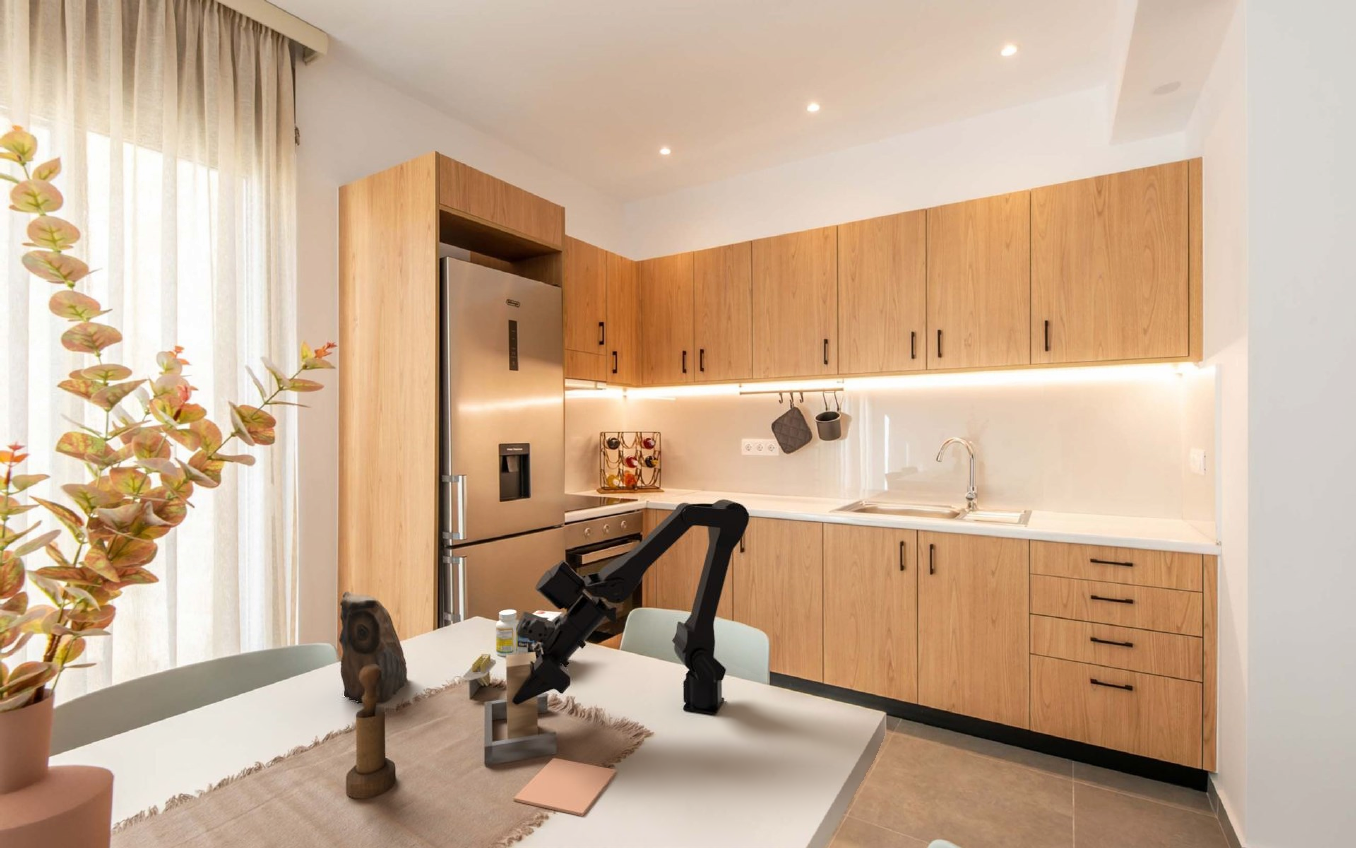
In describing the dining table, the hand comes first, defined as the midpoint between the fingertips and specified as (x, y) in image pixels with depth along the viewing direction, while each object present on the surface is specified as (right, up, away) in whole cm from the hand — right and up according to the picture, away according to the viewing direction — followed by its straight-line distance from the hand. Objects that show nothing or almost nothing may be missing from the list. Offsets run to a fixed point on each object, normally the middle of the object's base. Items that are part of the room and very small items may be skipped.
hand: (513, 696), depth 105 cm
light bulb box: (-2, -7, +31) cm, 31 cm away
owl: (-33, -7, +18) cm, 38 cm away
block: (+1, -7, +1) cm, 7 cm away
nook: (+1, -7, 0) cm, 7 cm away
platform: (-12, -8, +19) cm, 23 cm away
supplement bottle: (-12, -7, +39) cm, 41 cm away
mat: (+12, -7, -15) cm, 20 cm away
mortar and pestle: (-17, -7, -14) cm, 24 cm away
